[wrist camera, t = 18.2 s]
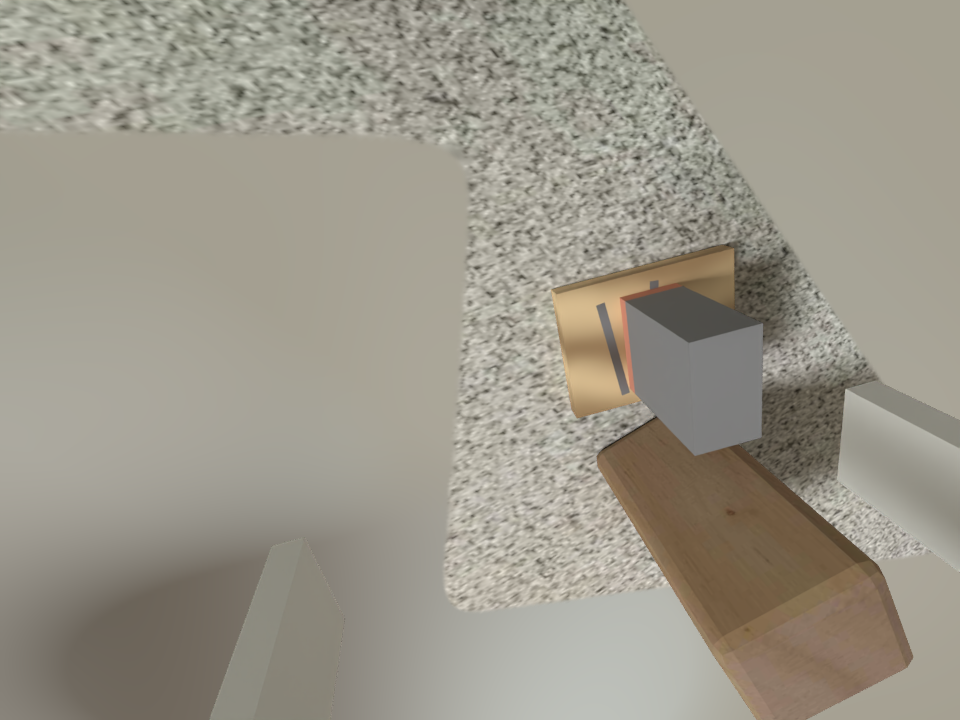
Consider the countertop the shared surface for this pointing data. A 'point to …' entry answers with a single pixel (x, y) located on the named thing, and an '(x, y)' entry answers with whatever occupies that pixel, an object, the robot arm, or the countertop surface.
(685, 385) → the block
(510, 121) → the countertop surface
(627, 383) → the board
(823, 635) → the wooden block
